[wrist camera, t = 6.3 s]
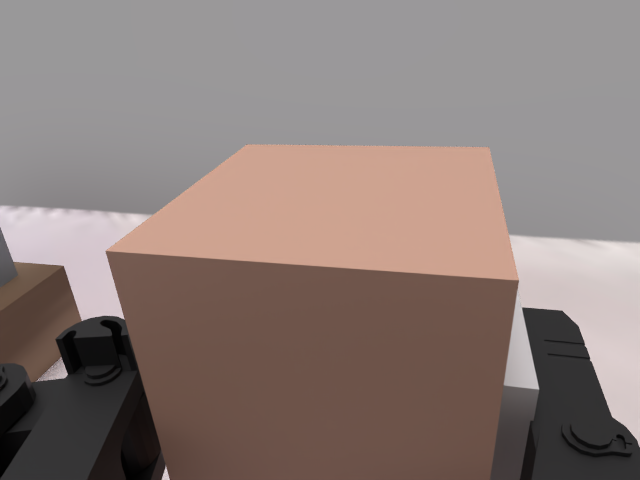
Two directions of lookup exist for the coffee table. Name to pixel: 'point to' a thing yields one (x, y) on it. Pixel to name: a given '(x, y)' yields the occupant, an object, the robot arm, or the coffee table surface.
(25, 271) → the walnut base block
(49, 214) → the coffee table surface
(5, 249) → the slate top block
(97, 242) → the coffee table surface
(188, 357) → the terracotta tall block
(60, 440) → the robot arm
